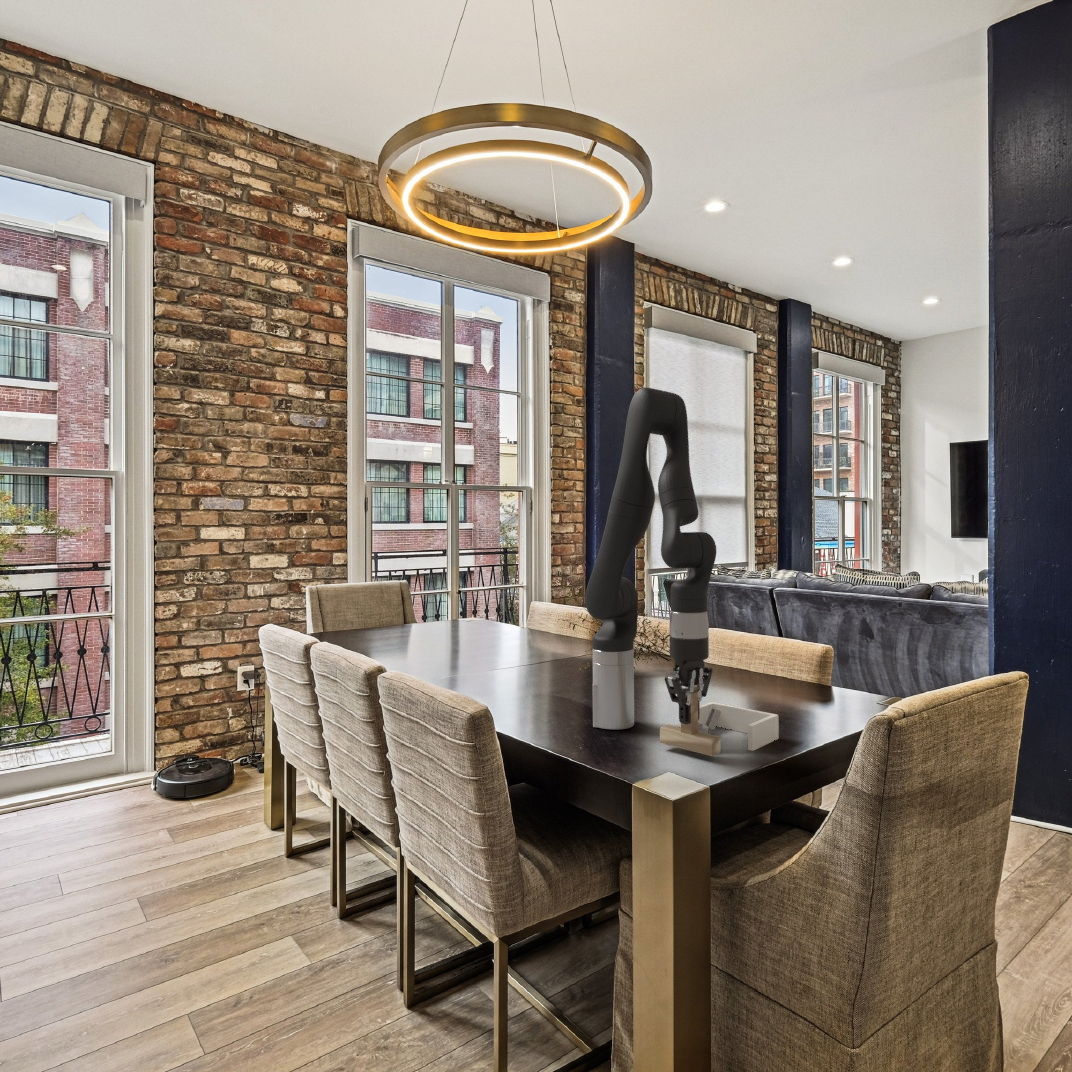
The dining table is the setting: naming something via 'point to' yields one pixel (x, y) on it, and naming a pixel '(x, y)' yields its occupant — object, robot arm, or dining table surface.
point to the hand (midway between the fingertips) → (689, 721)
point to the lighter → (709, 721)
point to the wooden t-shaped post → (690, 734)
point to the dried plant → (634, 640)
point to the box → (745, 723)
